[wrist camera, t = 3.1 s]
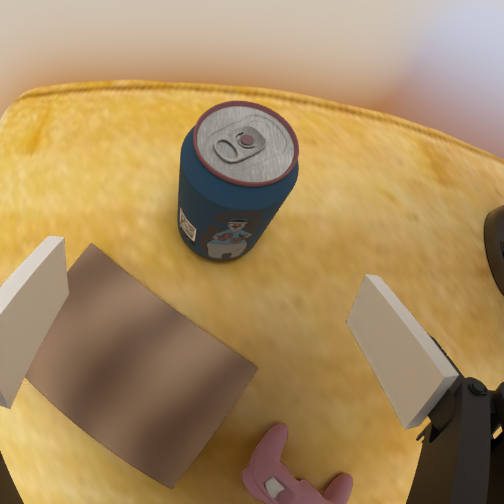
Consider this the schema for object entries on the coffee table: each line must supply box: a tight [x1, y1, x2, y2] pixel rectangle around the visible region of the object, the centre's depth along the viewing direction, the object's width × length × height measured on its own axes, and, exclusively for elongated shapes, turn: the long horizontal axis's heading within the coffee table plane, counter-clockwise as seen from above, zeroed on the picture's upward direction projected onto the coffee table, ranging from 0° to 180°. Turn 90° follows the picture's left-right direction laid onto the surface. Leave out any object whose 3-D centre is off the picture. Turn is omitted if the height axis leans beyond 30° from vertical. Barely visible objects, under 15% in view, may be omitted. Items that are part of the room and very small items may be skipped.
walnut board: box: [25, 243, 259, 489], centre depth 21 cm, size 16×12×2 cm
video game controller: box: [241, 423, 353, 504], centre depth 19 cm, size 10×5×7 cm, turn 46°
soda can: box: [178, 101, 299, 261], centre depth 22 cm, size 7×7×12 cm
